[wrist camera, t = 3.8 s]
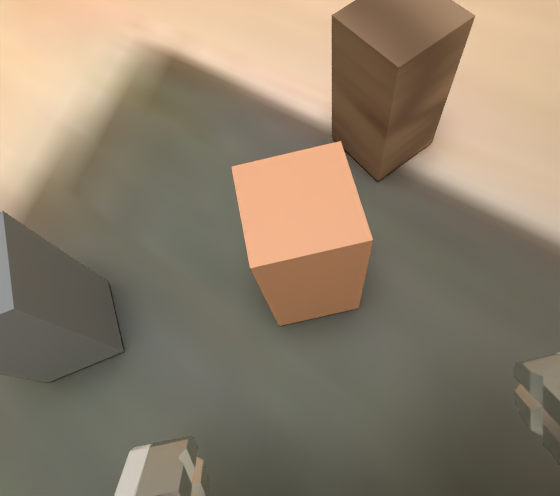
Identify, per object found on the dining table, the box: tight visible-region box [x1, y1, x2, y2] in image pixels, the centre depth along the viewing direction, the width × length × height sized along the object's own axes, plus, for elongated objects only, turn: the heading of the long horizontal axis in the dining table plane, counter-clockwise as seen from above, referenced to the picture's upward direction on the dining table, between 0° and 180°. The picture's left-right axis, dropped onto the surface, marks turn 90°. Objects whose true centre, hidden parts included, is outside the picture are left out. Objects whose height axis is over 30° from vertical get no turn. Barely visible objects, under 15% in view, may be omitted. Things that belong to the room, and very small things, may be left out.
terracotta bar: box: [232, 141, 373, 326], centre depth 20 cm, size 4×4×9 cm
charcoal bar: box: [0, 211, 124, 383], centre depth 20 cm, size 4×4×9 cm
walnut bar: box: [332, 0, 475, 181], centre depth 23 cm, size 4×4×9 cm
